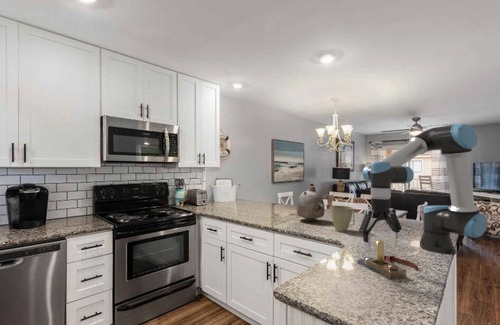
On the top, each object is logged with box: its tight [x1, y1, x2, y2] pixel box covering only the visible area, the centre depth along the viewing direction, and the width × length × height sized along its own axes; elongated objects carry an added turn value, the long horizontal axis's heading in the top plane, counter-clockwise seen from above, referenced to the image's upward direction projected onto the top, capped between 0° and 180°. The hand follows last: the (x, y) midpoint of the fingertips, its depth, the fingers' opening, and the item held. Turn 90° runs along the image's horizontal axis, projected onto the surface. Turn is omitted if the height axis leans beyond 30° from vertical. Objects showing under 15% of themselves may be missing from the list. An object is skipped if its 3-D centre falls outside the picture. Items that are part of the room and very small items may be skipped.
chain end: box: [357, 256, 380, 275], centre depth 111 cm, size 8×13×2 cm, turn 17°
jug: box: [296, 182, 325, 222], centre depth 205 cm, size 24×21×30 cm
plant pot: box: [329, 205, 354, 233], centre depth 176 cm, size 15×15×16 cm
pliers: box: [384, 253, 419, 271], centre depth 118 cm, size 12×20×3 cm, turn 5°
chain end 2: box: [366, 258, 407, 281], centre depth 106 cm, size 8×13×4 cm, turn 17°
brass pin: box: [375, 239, 385, 265], centre depth 109 cm, size 3×3×12 cm
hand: (380, 248), depth 109 cm, fingers open, 13 cm apart
